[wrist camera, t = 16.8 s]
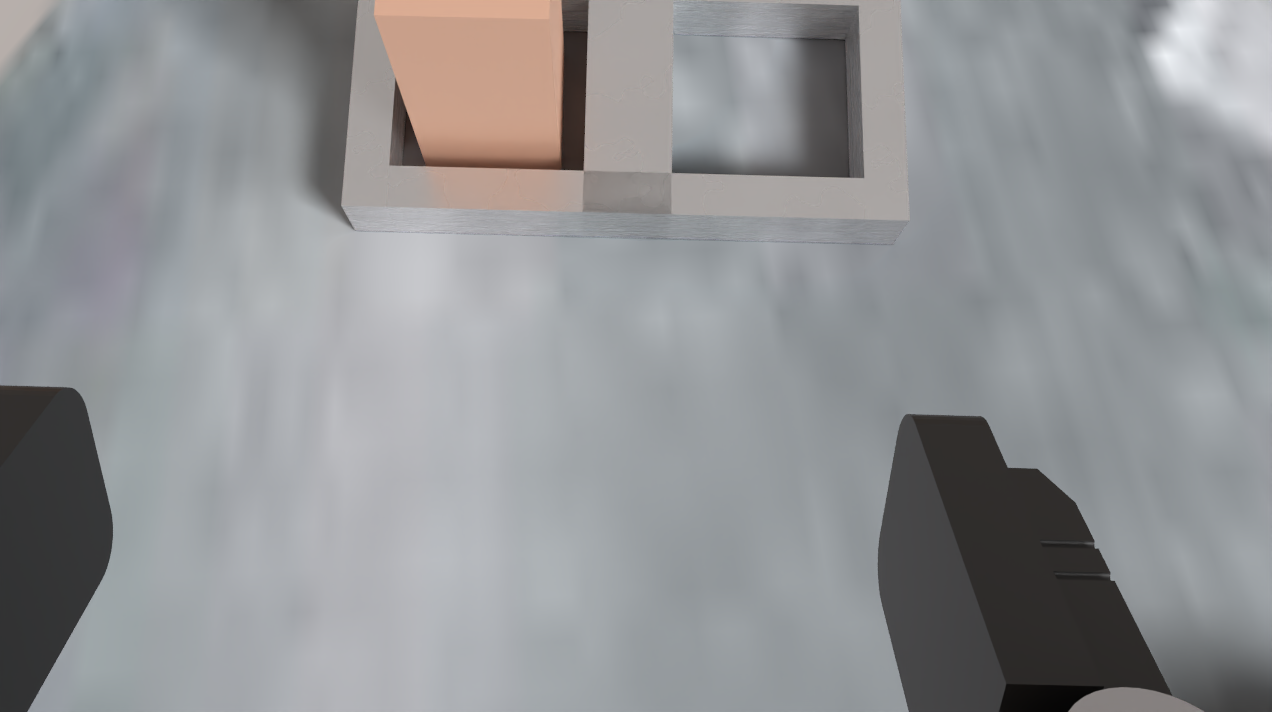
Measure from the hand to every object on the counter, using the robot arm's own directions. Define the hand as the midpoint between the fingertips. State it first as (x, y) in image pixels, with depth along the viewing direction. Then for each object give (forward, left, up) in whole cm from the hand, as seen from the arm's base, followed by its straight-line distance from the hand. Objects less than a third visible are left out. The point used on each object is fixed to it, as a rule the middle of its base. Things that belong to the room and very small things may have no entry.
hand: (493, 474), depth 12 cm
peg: (-9, -12, -22) cm, 27 cm away
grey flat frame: (-11, -9, -22) cm, 26 cm away
